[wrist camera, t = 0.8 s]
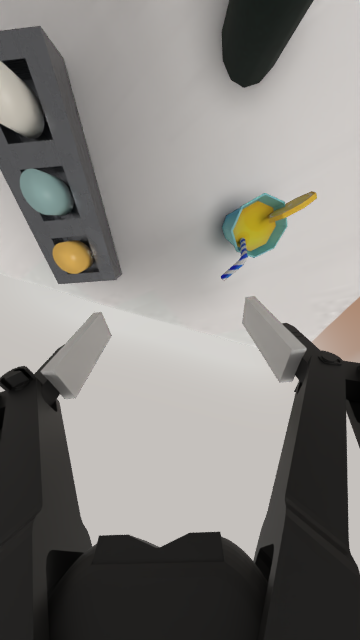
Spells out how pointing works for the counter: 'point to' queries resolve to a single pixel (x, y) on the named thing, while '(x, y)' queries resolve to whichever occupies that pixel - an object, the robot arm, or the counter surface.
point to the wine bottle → (258, 35)
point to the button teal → (46, 193)
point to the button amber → (73, 256)
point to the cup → (259, 225)
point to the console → (55, 157)
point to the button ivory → (19, 105)
